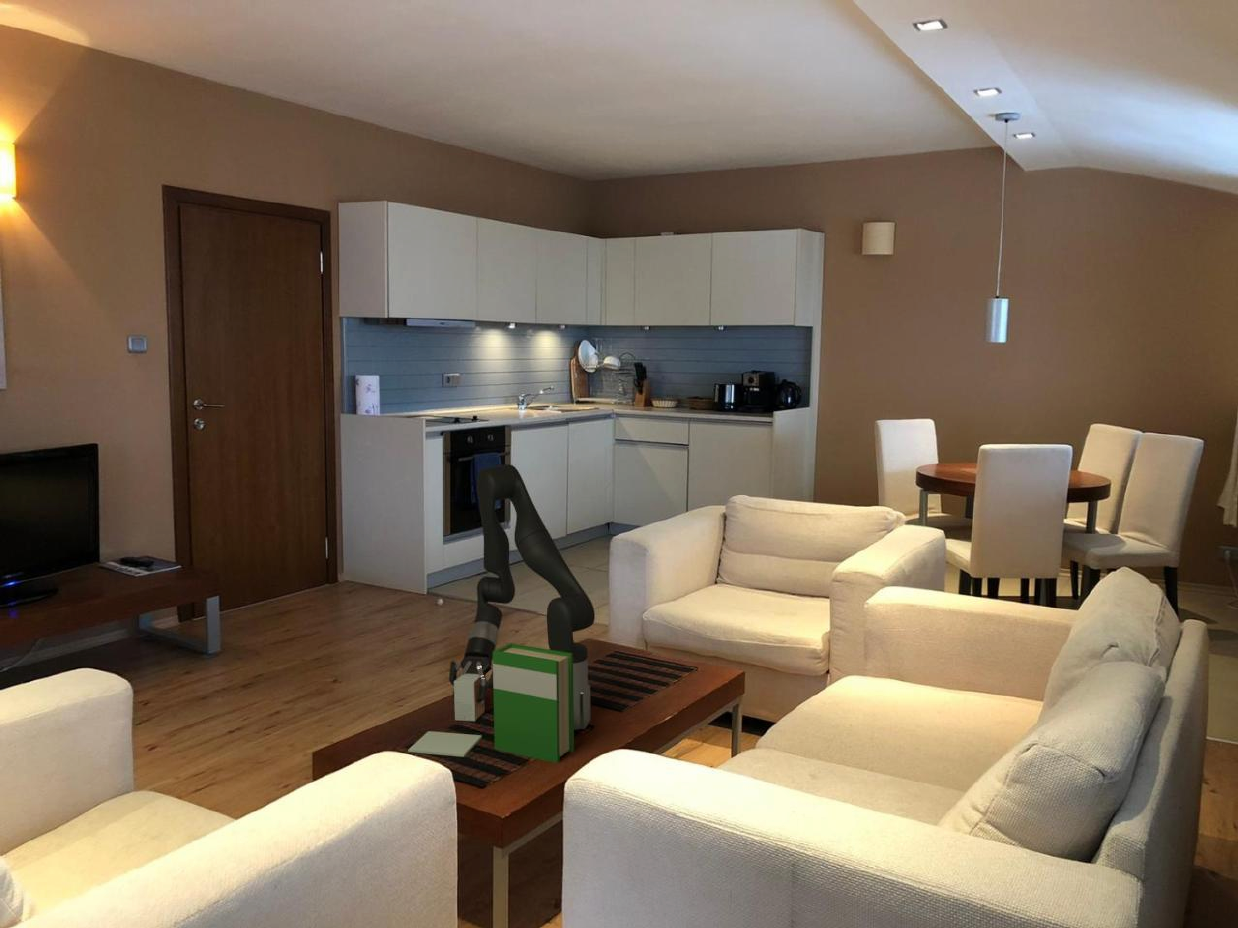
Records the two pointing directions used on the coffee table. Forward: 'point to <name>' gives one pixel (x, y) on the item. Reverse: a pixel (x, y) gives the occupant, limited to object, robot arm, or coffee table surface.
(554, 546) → the robot arm
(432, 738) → the sage mat
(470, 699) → the small box
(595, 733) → the coffee table surface
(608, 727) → the coffee table surface
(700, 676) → the coffee table surface
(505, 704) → the hardback book
